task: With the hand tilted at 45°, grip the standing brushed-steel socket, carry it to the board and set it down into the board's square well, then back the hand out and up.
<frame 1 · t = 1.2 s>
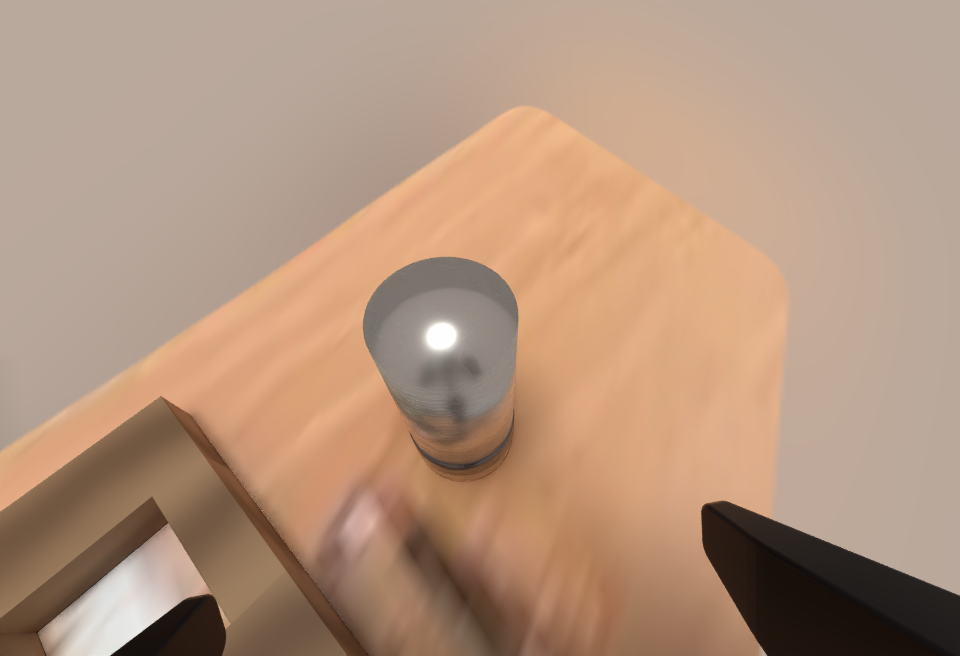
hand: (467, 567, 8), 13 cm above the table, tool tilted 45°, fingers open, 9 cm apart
socket board: (148, 627, 19), on the table
steel socket: (464, 432, 23), on the table
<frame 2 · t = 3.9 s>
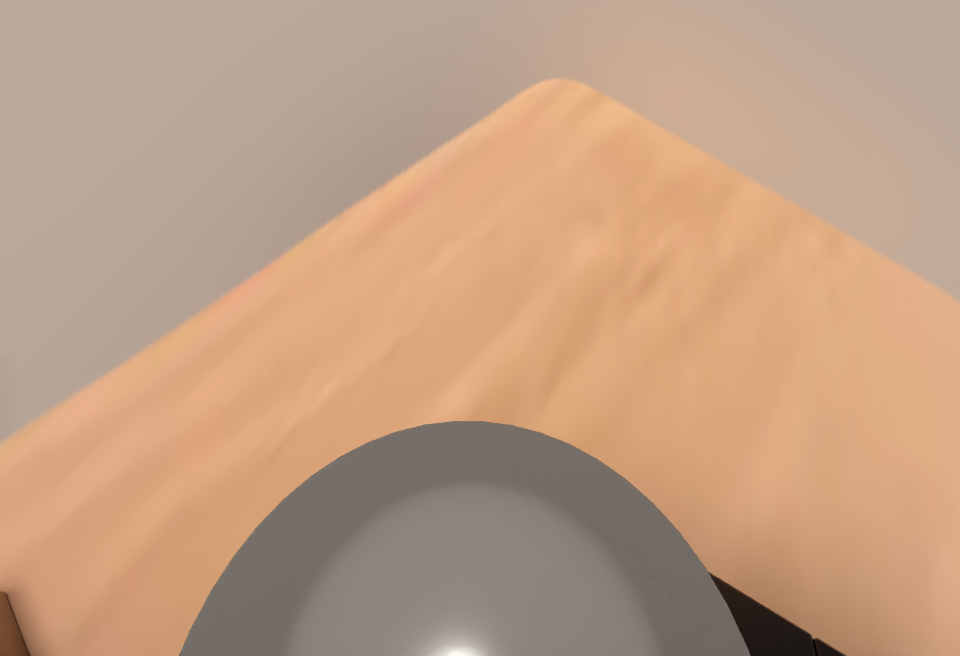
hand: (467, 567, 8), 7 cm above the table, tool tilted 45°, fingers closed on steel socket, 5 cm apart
steel socket: (489, 641, 13), on the table, touching gripper
when the fingers open (8 cm above the table, at t = 8.1 s): steel socket drops 1 cm, resting in socket board.
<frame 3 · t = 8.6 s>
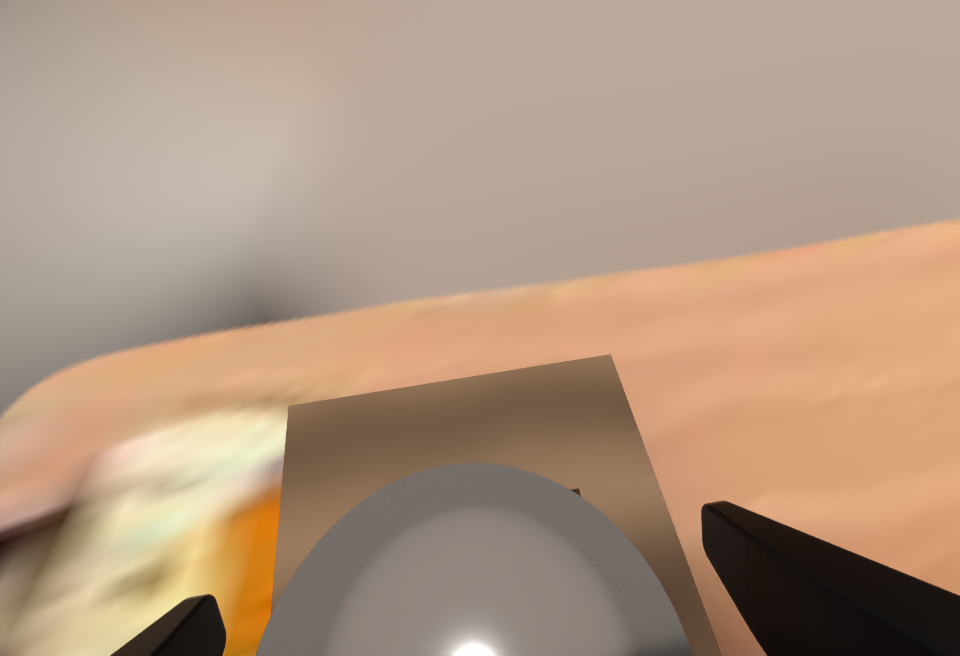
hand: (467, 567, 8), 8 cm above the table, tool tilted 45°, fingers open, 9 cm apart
socket board: (490, 638, 14), on the table
steel socket: (491, 640, 14), resting in socket board
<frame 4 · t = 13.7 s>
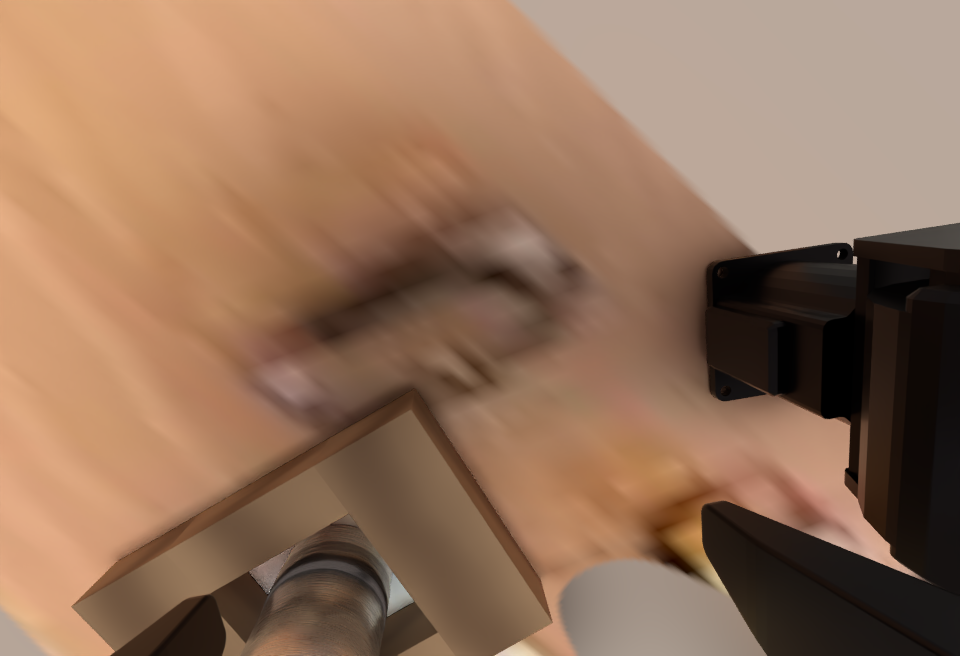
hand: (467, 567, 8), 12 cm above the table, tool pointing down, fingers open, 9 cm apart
socket board: (338, 571, 21), on the table
steel socket: (339, 570, 21), resting in socket board
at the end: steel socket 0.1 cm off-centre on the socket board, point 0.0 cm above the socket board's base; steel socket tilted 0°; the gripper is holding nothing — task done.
